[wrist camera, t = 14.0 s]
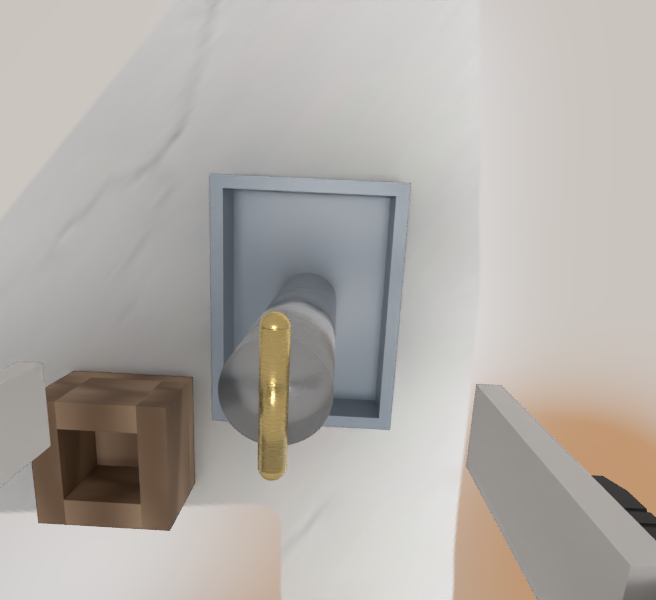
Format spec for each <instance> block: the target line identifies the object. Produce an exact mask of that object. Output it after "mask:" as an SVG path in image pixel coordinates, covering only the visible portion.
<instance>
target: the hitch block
mask: <svg viewBox="0 0 656 600" xmlns="http://www.w3.org/2000/svg"><path fill="white" fill-rule="evenodd" d="M45 392H46V402H47V412H48V423H49V433H50V444H51V446H50V447H49V448H48V449H46V450H45V451H44V452H43V453H41V454H40V455H39V456H38V457H37V458H35V459H34V460H33V461H32V470H33V479H34V488H35V497H36V506H37V515H38V523H48V524H65V525H81V526H98V527H115V528H116V527H117V528H132V529H150V530H167V531H170V529H171V527H172V526H173V524H174V522H175V520H176V518H177V516H178V514H179V512H180V510H181V509H182V507H183V505H184V503H185V501H186V499H187V497H188V496H189V494H190V492H191V490H192V488H193V486H194V484H195V472H194V424H193V377H178V376H159V375H140V374H122V373H103V372H85V371H73V372H71V373H69V374H68V375H66V376H64V377H63V378H61V379H59V380H58V381H56V382H54V383H53V384H51V385H49V386H48V387H46V388H45Z"/></svg>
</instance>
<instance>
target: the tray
mask: <svg viewBox="0 0 656 600" xmlns="http://www.w3.org/2000/svg"><path fill="white" fill-rule="evenodd" d="M410 188H411V183H403V182H382V181H360V180H339V179H317V178H296V177H275V176H253V175H232V174H210V173H209V196H210V286H211V375H212V420H218V421H228V420H227V418H226V417H225V415H224V413H223V411H222V408H221V406H220V402H219V398H218V382H219V377H220V374H221V371H222V368H223V366H224V365H225V363H226V361H227V360H228V359H229V357H230V356H231V355H232V353H233V352H234V351H235V349H236V348H237V347H238V345H239V344H240V343H241V341H242V340H243V339H244V337H245V336H246V335H247V333H248V332H249V331H250V329H251V328H252V327H253V325H254V324H255V323H256V321H257V320H258V319H259V318H260V316H261V315H262V314H263V312H264V311H265V310H266V308H267V307H268V306H269V304H270V303H271V302H272V300H273V299H274V298H275V296H276V295H277V294H278V292H279V291H280V290H281V288H282V287H283V286H284V284H285V283H286V282H287V281H288V280H289V279H290V278H292V277H294V276H296V275H298V274H303V273H312V274H316V275H319V276H321V277H323V278H324V279H326V280H327V281H328V282H329V283H330V284H331V286H332V287H333V289H334V292H335V295H336V333H335V367H334V397H333V404H332V408H331V411H330V413H329V416H328V418H327V419H326V421H325V423H324V424H323V425H322V426H327V427H345V428H363V429H381V430H390V425H391V413H392V401H393V389H394V378H395V366H396V354H397V342H398V330H399V319H400V307H401V295H402V283H403V271H404V259H405V248H406V236H407V224H408V212H409V200H410Z"/></svg>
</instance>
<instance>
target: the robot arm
mask: <svg viewBox="0 0 656 600" xmlns="http://www.w3.org/2000/svg"><path fill="white" fill-rule="evenodd" d="M50 446H51V444H50V433H49V423H48V412H47V402H46V392H45V381H44V371H43V363H30V362H16V363H14V364H12V365H10V366H8V367H5V368H3V369H1V370H0V487H1V486H2V485H4V484H5V483H6V482H7V481H9V480H10V479H11V478H12V477H13V476H15V475H16V474H17V473H18V472H20V471H21V470H22V469H23V468H24V467H26V466H27V465H28V464H29V463H30V462H32V461H33V460H34V459H35V458H37V457H38V456H39V455H40V454H41V453H43V452H44V451H45V450H46V449H48V448H49V447H50ZM466 467H467V469H468V470H469V472H470V474H471V476H472V478H473V480H474V482H475V484H476V486H477V488H478V489H479V491H480V493H481V495H482V497H483V499H484V501H485V503H486V504H487V506H488V508H489V510H490V512H491V514H492V516H493V518H494V520H495V521H496V523H497V525H498V527H499V529H500V531H501V533H502V535H503V536H504V538H505V540H506V542H507V544H508V546H509V548H510V550H511V552H512V553H513V555H514V557H515V559H516V561H517V563H518V565H519V566H520V568H521V570H522V572H523V574H524V576H525V578H526V580H527V582H528V584H529V585H530V587H531V589H532V591H533V593H534V595H535V596H536V599H537V600H656V517H655V516H654V515H652V514H651V513H648V512H647V509H646V508H645V507H644V506H643V505H642V504H640V502H638V500H636V499H635V498H634V497H633V496H632V495H631V494H630V493H629V492H628V491H626V490H625V489H623V488H622V487H620V486H618V485H617V484H615V483H613V482H612V481H610V480H608V479H607V478H605V477H603V476H592V475H590V474H589V473H588V472H587V471H586V470H585V469H584V468H583V467H582V466H581V465H580V464H579V463H578V462H577V461H576V460H575V459H574V458H573V457H572V456H571V455H570V454H569V453H568V452H567V451H566V450H565V449H564V448H563V447H562V446H561V445H560V444H559V443H558V441H557V440H556V439H554V437H553V436H551V434H550V433H548V431H547V430H546V429H545V428H544V427H543V426H542V425H541V424H539V422H538V421H537V420H536V419H534V417H533V416H532V415H531V414H530V413H529V412H528V411H527V410H526V409H525V408H524V407H523V406H522V405H521V404H520V403H519V402H518V401H517V400H516V399H515V398H514V397H513V396H512V395H511V394H510V393H509V392H508V391H507V390H506V389H505V388H504V387H503V386H502V385H487V384H476V391H475V399H474V407H473V415H472V422H471V430H470V438H469V447H468V455H467V462H466Z"/></svg>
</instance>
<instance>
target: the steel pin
mask: <svg viewBox="0 0 656 600" xmlns="http://www.w3.org/2000/svg"><path fill="white" fill-rule="evenodd" d="M335 333H336V295H335V292H334V289H333V287H332V286H331V284H330V283H329V282H328V281H327V280H326V279H324V278H323V277H321V276H319V275H316V274H312V273H303V274H298V275H296V276H294V277H292V278H290V279H289V280H288V281H287V282H286V283H285V284H284V286H283V287H282V288H281V290H280V291H279V292H278V294H277V295H276V296H275V298H274V299H273V300H272V302H271V303H270V304H269V306H268V307H267V308H266V310H265V311H264V312H263V314H262V315H261V316H260V318H259V319H258V320H257V321H256V323H255V324H254V325H253V327H252V328H251V329H250V331H249V332H248V333H247V335H246V336H245V337H244V339H243V340H242V341H241V343H240V344H239V345H238V347H237V348H236V349H235V351H234V352H233V353H232V355H231V356H230V357H229V359H228V360H227V361H226V363H225V365H224V366H223V368H222V371H221V374H220V377H219V382H218V398H219V402H220V406H221V408H222V411H223V413H224V415H225V417H226V418H227V420H228V421H229V422H230V424H231V425H232V426H233V427H234V428H235V429H236V430H237V431H238V432H240V433H241V434H242V435H244V436H245V437H247V438H249V439H251V440H253V441H256V442H258V471H259V473H260V475H261V476H262V477H263V478H264V479H266V480H270V481H274V480H277V479H279V478H280V477H282V476H283V474H284V473H285V471H286V467H287V445H290V444H294V443H297V442H300V441H303V440H304V439H306V438H308V437H310V436H311V435H313V434H314V433H315V432H316V431H317V430H318V429H320V427H321V426H322V425H323V424H324V423H325V421H326V419H327V418H328V416H329V413H330V411H331V408H332V404H333V397H334V367H335Z"/></svg>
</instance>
